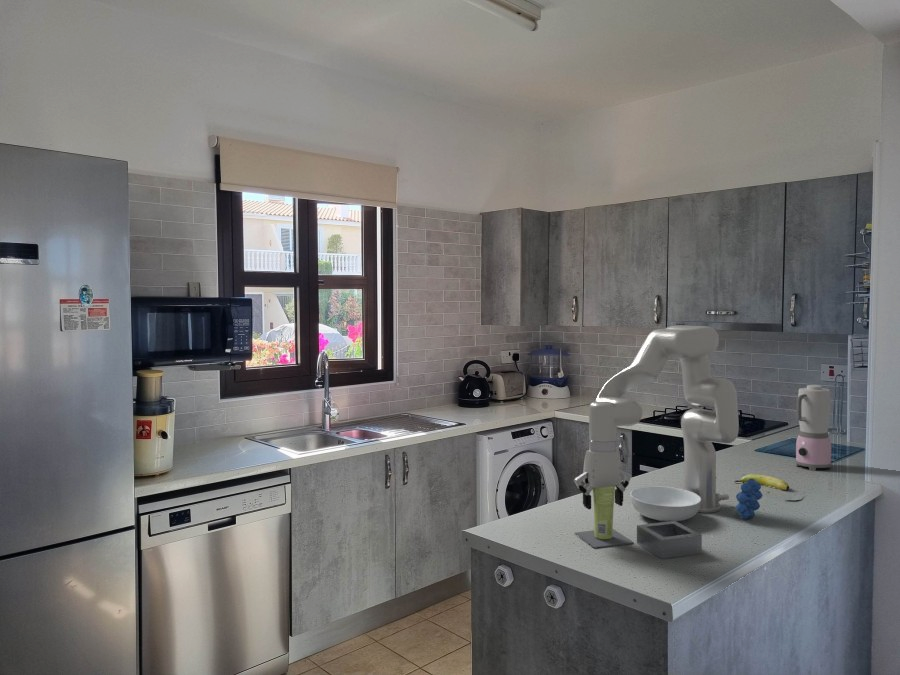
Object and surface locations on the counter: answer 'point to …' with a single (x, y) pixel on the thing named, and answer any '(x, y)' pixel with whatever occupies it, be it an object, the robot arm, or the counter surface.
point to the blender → (813, 427)
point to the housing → (669, 539)
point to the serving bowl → (665, 503)
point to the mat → (595, 542)
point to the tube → (603, 511)
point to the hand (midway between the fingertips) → (603, 506)
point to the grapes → (749, 499)
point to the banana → (766, 481)
